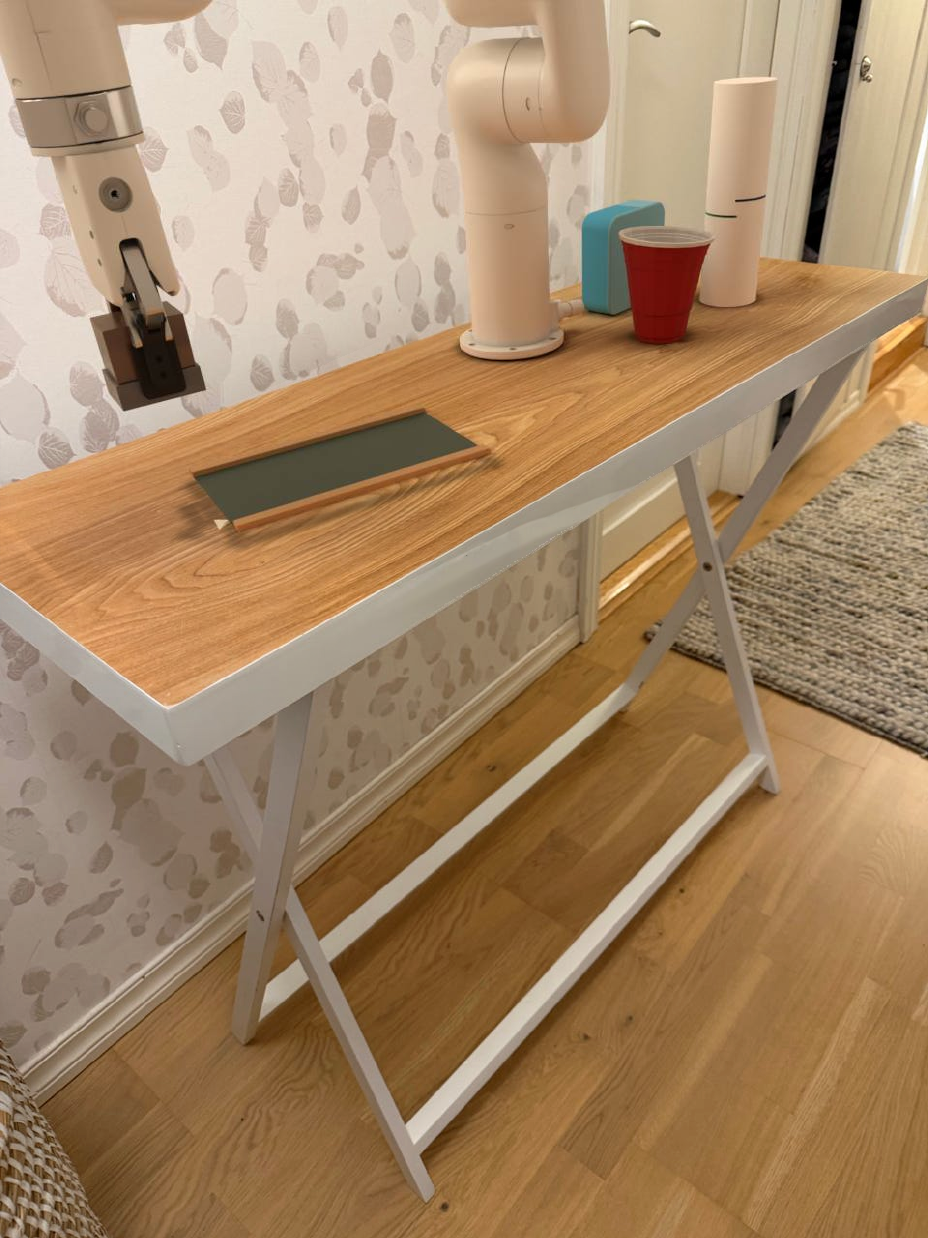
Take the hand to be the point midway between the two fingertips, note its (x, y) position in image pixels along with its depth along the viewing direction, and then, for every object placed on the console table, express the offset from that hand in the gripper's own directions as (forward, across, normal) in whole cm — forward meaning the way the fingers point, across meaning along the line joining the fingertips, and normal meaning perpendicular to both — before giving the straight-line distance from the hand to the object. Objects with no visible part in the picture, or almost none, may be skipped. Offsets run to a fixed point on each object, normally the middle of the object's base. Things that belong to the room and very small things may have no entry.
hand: (155, 381), depth 72 cm
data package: (+14, +26, -66) cm, 72 cm away
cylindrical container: (+14, +18, -77) cm, 80 cm away
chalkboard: (+13, +1, -14) cm, 19 cm away
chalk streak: (+12, -3, 0) cm, 12 cm away
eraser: (+1, 0, 0) cm, 1 cm away
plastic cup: (+14, +12, -61) cm, 64 cm away
